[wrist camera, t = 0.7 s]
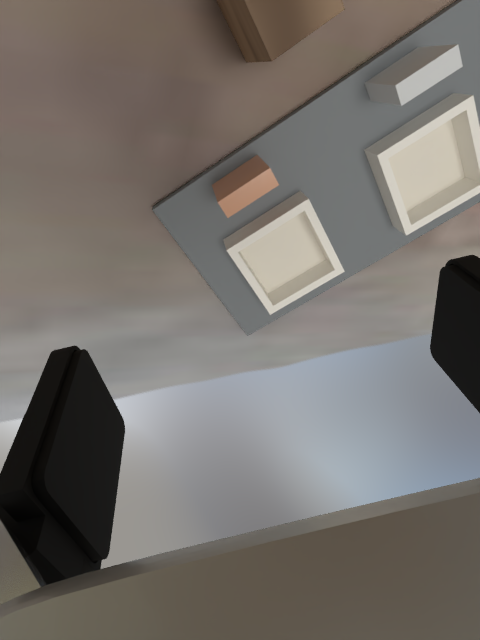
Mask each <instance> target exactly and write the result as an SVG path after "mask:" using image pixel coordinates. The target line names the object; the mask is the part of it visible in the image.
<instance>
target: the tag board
mask: <svg viewBox="0 0 480 640" xmlns="http://www.w3.org/2000/svg"><path fill="white" fill-rule="evenodd" d="M454 44H458V46H459V50H460V55H461V60H462V65H463V67H461V68H460V69H458V70H456V71H455V72H453V73H452V74H450V75H449V76H447V77H446V78H444V79H443V80H441V81H439V82H438V83H436V84H435V85H433V86H432V87H430V88H429V89H427V90H426V91H424V92H422V93H421V94H419V95H418V96H416V97H415V98H413V99H412V100H410V101H408V102H407V103H405V104H404V105H402V106H399V105H393V104H387V103H381V102H375V101H371V100H370V97H369V95H368V92H367V89H366V86H365V82H367V81H368V80H370V79H371V78H373V77H374V76H376V75H377V74H379V73H380V72H382V71H383V70H385V69H386V68H388V67H389V66H391V65H392V64H394V63H395V62H396V61H398V60H399V59H401V58H402V57H404V56H405V55H407V54H408V53H410V52H411V51H413V50H414V49H416V48H417V47H428V46H441V45H454ZM256 155H258V156H259V157H260V158H261V159H262V160H263V161H264V162H265V163H266V164H267V165H268V166H269V167H270V169H271V170H272V172H273V174H274V176H275V178H276V180H277V182H278V184H279V185H278V186H277V187H275V188H274V189H272V190H271V191H269V192H268V193H266V194H264V195H263V196H261V197H260V198H258V199H257V200H255V201H254V202H252V203H250V204H249V205H247V206H246V207H244V208H243V209H241V210H240V211H238V212H237V213H235V214H233V215H232V216H230V217H229V218H227V216H226V215H225V213H224V211H223V210H222V208H221V207H220V205H219V204H218V202H217V199H216V196H215V193H214V190H213V187H212V185H213V184H214V183H216V182H217V181H219V180H220V179H222V178H223V177H224V176H226V175H227V174H229V173H230V172H232V171H233V170H235V169H236V168H238V167H239V166H241V165H242V164H244V163H245V162H247V161H248V160H250V159H251V158H253V157H254V156H256ZM479 202H480V0H457V1H455V2H454V3H452V4H451V5H449V6H448V7H446V8H445V9H443V10H442V11H440V12H439V13H437V14H436V15H435V16H433V17H432V18H430V19H429V20H427V21H426V22H424V23H423V24H421V25H420V26H418V27H417V28H415V29H414V30H412V31H411V32H409V33H408V34H407V35H405V36H404V37H402V38H401V39H399V40H398V41H396V42H395V43H393V44H392V45H390V46H389V47H387V48H386V49H384V50H383V51H381V52H380V53H378V54H377V55H376V56H374V57H373V58H371V59H370V60H368V61H367V62H365V63H364V64H362V65H361V66H359V67H358V68H356V69H355V70H353V71H352V72H350V73H349V74H348V75H346V76H345V77H343V78H342V79H340V80H339V81H337V82H336V83H334V84H333V85H331V86H330V87H328V88H327V89H325V90H324V91H322V92H321V93H320V94H318V95H317V96H315V97H314V98H312V99H311V100H309V101H308V102H306V103H305V104H303V105H302V106H300V107H299V108H297V109H296V110H294V111H293V112H292V113H290V114H289V115H287V116H286V117H284V118H283V119H281V120H280V121H278V122H277V123H275V124H274V125H272V126H271V127H269V128H268V129H266V130H265V131H264V132H262V133H261V134H259V135H258V136H256V137H255V138H253V139H252V140H250V141H249V142H247V143H246V144H244V145H243V146H241V147H240V148H238V149H237V150H235V151H234V152H233V153H231V154H230V155H228V156H227V157H225V158H224V159H222V160H221V161H219V162H218V163H216V164H215V165H213V166H212V167H210V168H209V169H207V170H206V171H205V172H203V173H202V174H200V175H199V176H197V177H196V178H194V179H193V180H191V181H190V182H188V183H187V184H185V185H184V186H182V187H181V188H179V189H178V190H177V191H175V192H174V193H172V194H171V195H169V196H168V197H166V198H165V199H163V200H162V201H160V202H159V203H157V204H156V205H154V206H153V211H154V213H155V214H156V215H157V217H158V218H159V219H160V221H161V222H162V223H163V225H164V226H165V227H166V229H167V230H168V231H169V233H170V234H171V235H172V237H173V238H174V239H175V241H176V242H177V243H178V245H179V246H180V247H181V249H182V250H183V251H184V252H185V254H186V255H187V256H188V258H189V259H190V260H191V262H192V263H193V264H194V266H195V267H196V268H197V270H198V271H199V272H200V274H201V275H202V276H203V278H204V279H205V280H206V282H207V283H208V284H209V286H210V287H211V288H212V290H213V291H214V292H215V293H216V295H217V296H218V297H219V299H220V300H221V301H222V303H223V304H224V305H225V307H226V308H227V309H228V311H229V312H230V313H231V315H232V316H233V317H234V319H235V320H236V321H237V323H238V324H239V325H240V327H241V328H242V329H243V331H244V332H245V333H246V335H247V336H248V335H250V334H252V333H254V332H255V331H257V330H259V329H260V328H262V327H264V326H266V325H267V324H269V323H271V322H273V321H274V320H276V319H278V318H280V317H281V316H283V315H285V314H286V313H288V312H290V311H292V310H293V309H295V308H297V307H299V306H300V305H302V304H304V303H305V302H307V301H309V300H311V299H312V298H314V297H316V296H318V295H319V294H321V293H323V292H325V291H326V290H328V289H330V288H331V287H333V286H335V285H337V284H338V283H340V282H342V281H344V280H345V279H347V278H349V277H350V276H352V275H354V274H356V273H357V272H359V271H361V270H363V269H364V268H366V267H368V266H370V265H371V264H373V263H375V262H376V261H378V260H380V259H382V258H383V257H385V256H387V255H389V254H390V253H392V252H394V251H395V250H397V249H399V248H401V247H402V246H404V245H406V244H408V243H409V242H411V241H413V240H415V239H416V238H418V237H420V236H421V235H423V234H425V233H427V232H428V231H430V230H432V229H434V228H435V227H437V226H439V225H440V224H442V223H444V222H446V221H447V220H449V219H451V218H453V217H454V216H456V215H458V214H460V213H461V212H463V211H465V210H466V209H468V208H470V207H472V206H473V205H475V204H477V203H479Z"/></svg>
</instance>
